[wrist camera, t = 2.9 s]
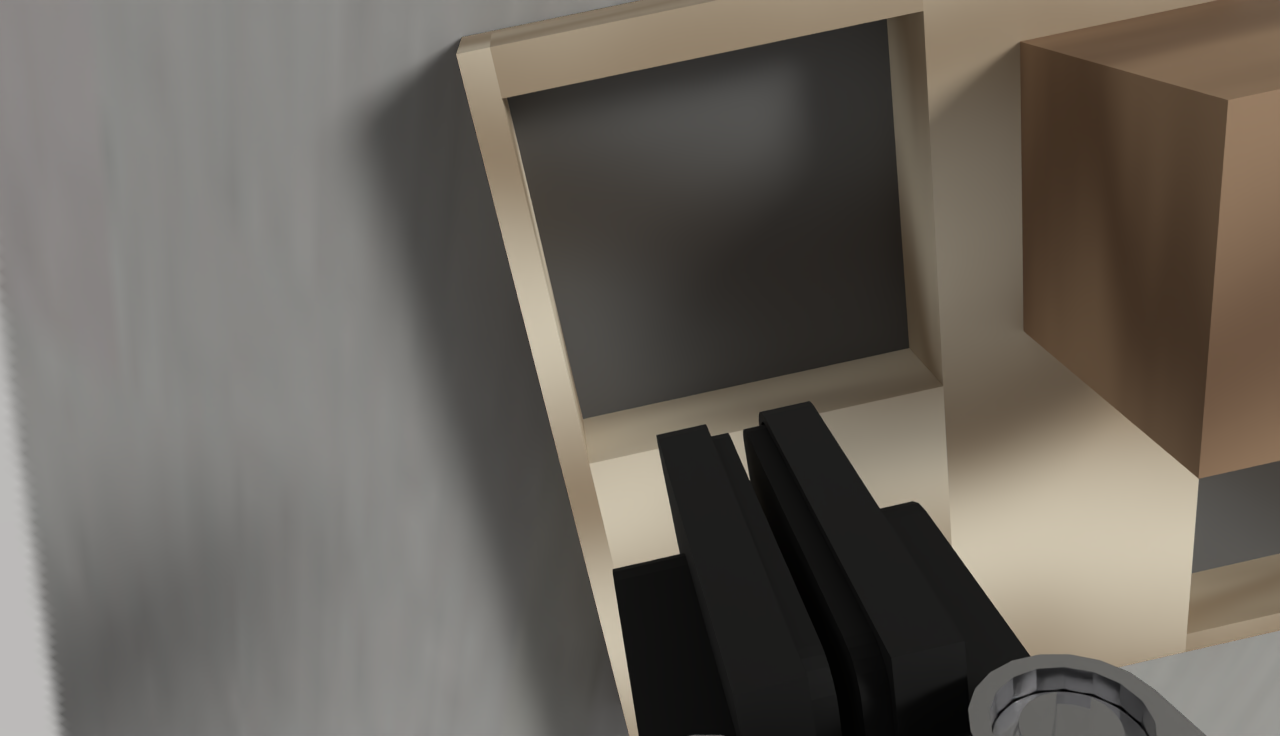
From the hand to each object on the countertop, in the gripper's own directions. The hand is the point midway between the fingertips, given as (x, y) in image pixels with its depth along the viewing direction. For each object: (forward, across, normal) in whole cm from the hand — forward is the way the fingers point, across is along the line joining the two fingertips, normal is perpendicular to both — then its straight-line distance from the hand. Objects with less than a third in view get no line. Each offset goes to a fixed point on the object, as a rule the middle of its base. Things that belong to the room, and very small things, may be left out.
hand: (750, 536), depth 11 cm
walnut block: (+6, -9, -1) cm, 11 cm away
